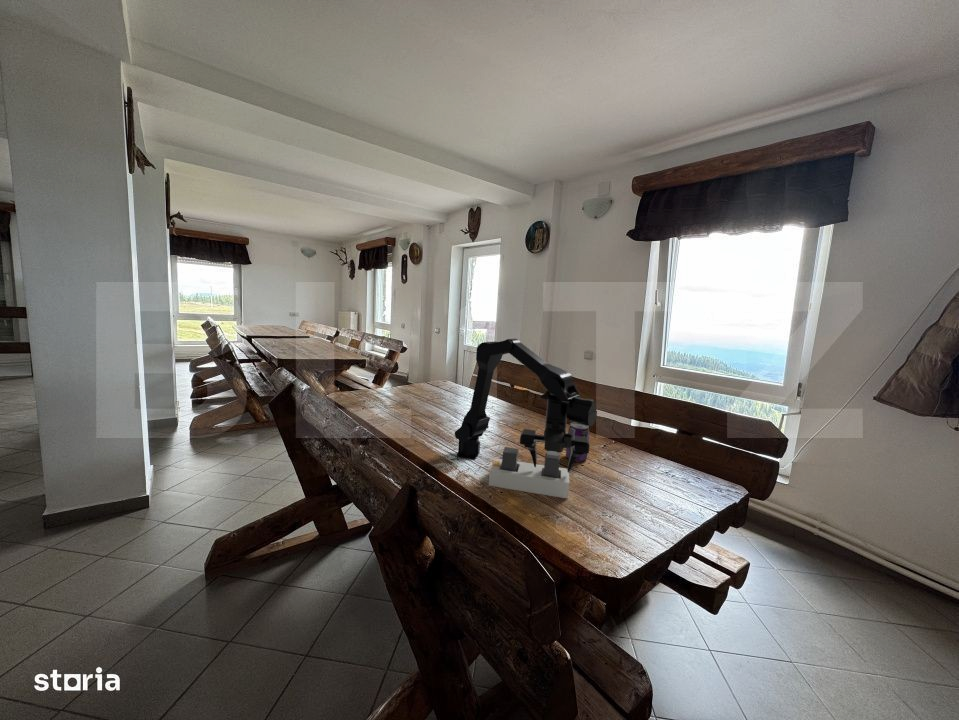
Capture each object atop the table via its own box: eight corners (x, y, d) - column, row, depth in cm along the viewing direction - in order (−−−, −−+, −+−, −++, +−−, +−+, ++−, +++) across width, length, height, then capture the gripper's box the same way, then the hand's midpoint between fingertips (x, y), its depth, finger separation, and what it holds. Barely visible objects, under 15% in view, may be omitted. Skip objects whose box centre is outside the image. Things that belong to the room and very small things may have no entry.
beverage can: (587, 464, 122) (591, 429, 120) (565, 461, 124) (569, 427, 122) (585, 455, 129) (589, 423, 127) (565, 453, 130) (568, 420, 129)
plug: (542, 484, 103) (545, 454, 102) (543, 478, 107) (546, 449, 106) (557, 487, 102) (559, 456, 101) (557, 480, 106) (560, 451, 105)
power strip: (488, 485, 104) (490, 453, 103) (494, 471, 113) (496, 442, 111) (567, 498, 99) (571, 465, 98) (567, 483, 108) (570, 452, 107)
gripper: (519, 421, 96) (515, 476, 98) (593, 430, 92) (587, 488, 94) (524, 409, 107) (520, 460, 109) (590, 417, 103) (584, 469, 105)
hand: (551, 469), depth 104 cm, fingers open, 9 cm apart
